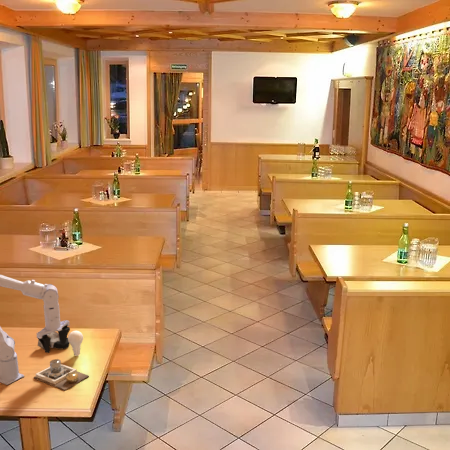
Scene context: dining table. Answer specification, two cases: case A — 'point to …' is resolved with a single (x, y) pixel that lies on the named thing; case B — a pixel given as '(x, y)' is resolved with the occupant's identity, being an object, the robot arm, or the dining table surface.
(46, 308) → the robot arm
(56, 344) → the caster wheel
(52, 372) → the planet gear
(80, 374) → the carrier board
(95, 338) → the dining table surface
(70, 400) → the dining table surface
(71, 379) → the golden brown dome
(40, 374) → the carrier pocket
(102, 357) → the dining table surface
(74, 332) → the lightbulb
